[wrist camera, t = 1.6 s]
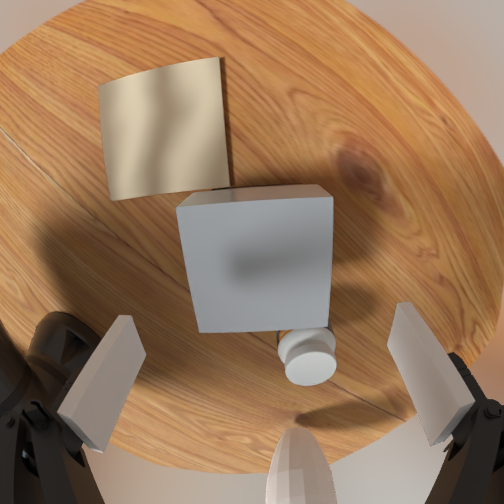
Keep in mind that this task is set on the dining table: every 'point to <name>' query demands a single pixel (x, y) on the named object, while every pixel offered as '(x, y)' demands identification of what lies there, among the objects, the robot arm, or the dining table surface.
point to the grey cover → (258, 257)
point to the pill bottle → (307, 354)
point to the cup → (299, 471)
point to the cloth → (164, 130)
